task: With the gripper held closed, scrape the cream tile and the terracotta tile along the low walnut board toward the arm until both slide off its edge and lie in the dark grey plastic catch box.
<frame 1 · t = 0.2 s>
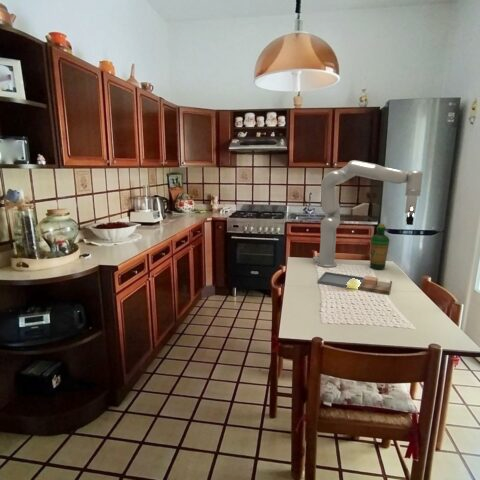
hand: (409, 223, 194), 31 cm above the table, tool pointing down, fingers open, 9 cm apart
catch box: (341, 281, 188), on the table
bottle: (377, 268, 215), on the table
walnut board: (376, 287, 180), on the table
cream tile: (383, 284, 178), point 2 cm above the table, touching walnut board
terracotta tile: (370, 282, 181), point 2 cm above the table, touching walnut board
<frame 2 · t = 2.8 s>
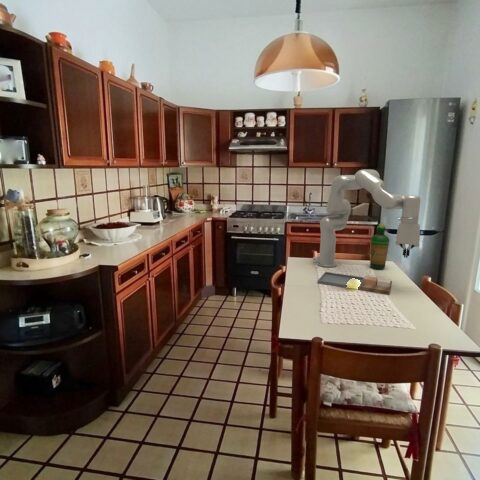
hand: (405, 257, 171), 18 cm above the table, tool pointing down, fingers closed
nothing on the table moved.
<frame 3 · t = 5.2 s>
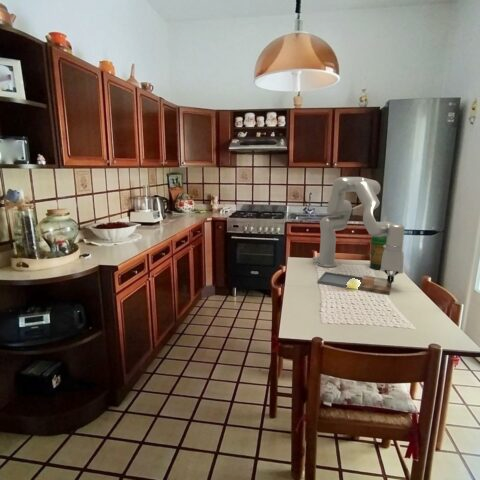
hand: (390, 282, 177), 4 cm above the table, tool pointing down, fingers closed
cream tile: (380, 284, 179), point 2 cm above the table, touching gripper, terracotta tile, walnut board
terracotta tile: (368, 282, 182), point 2 cm above the table, touching cream tile, walnut board
everything else where it was.
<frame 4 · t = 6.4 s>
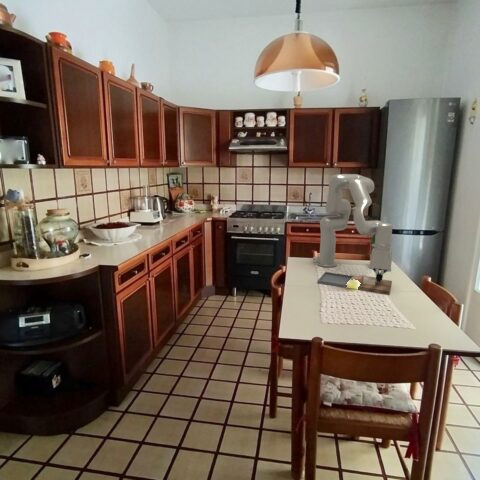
hand: (378, 280, 179), 4 cm above the table, tool pointing down, fingers closed
cream tile: (369, 282, 181), point 2 cm above the table, touching gripper, terracotta tile, walnut board
terracotta tile: (357, 282, 184), point 1 cm above the table, tilted 17°, touching catch box, cream tile
everything else where it was.
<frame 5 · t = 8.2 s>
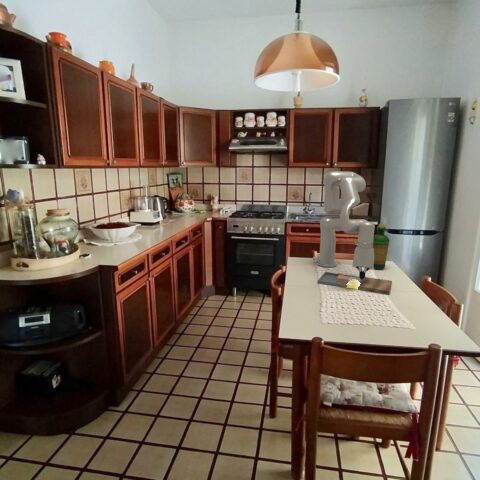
hand: (361, 278, 183), 4 cm above the table, tool pointing down, fingers closed
cream tile: (354, 283, 185), resting on catch box
terracotta tile: (343, 281, 188), resting on catch box
everything else where it was.
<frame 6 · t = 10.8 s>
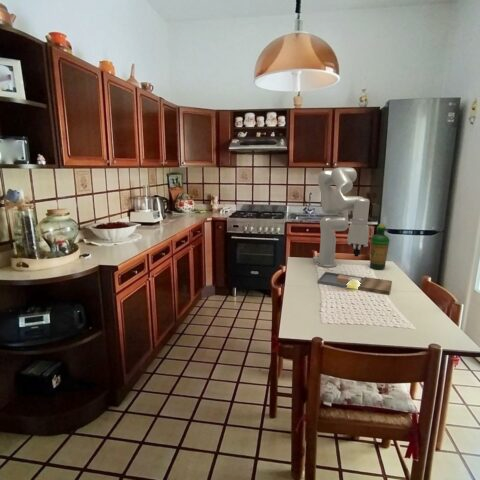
hand: (356, 255, 182), 16 cm above the table, tool pointing down, fingers closed
nothing on the table moved.
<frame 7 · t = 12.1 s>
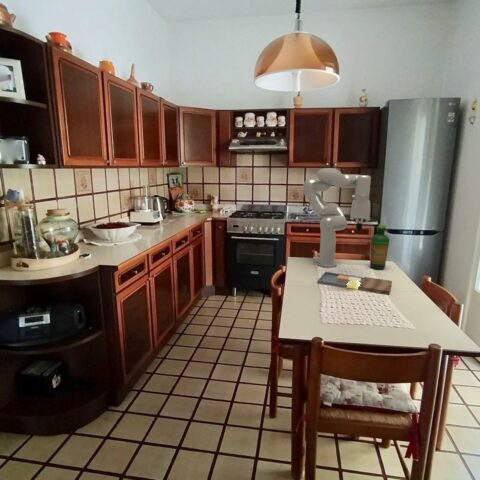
hand: (358, 230, 193), 27 cm above the table, tool pointing down, fingers closed
nothing on the table moved.
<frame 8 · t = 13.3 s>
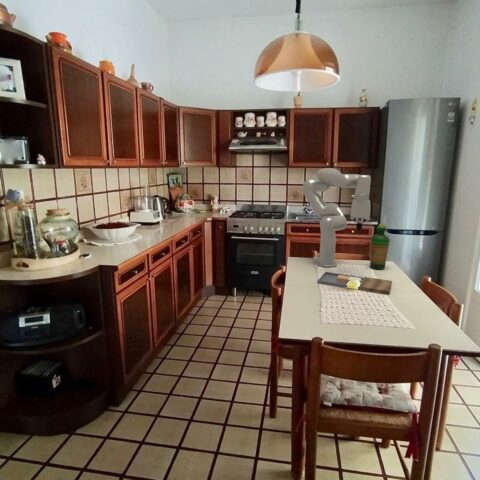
hand: (358, 230, 193), 27 cm above the table, tool pointing down, fingers closed
nothing on the table moved.
at the end: terracotta tile inside the target area on the catch box (1.0 cm from its centre), point 0.4 cm above the catch box's base; cream tile inside the target area on the catch box (7.1 cm from its centre), point 0.4 cm above the catch box's base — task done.
